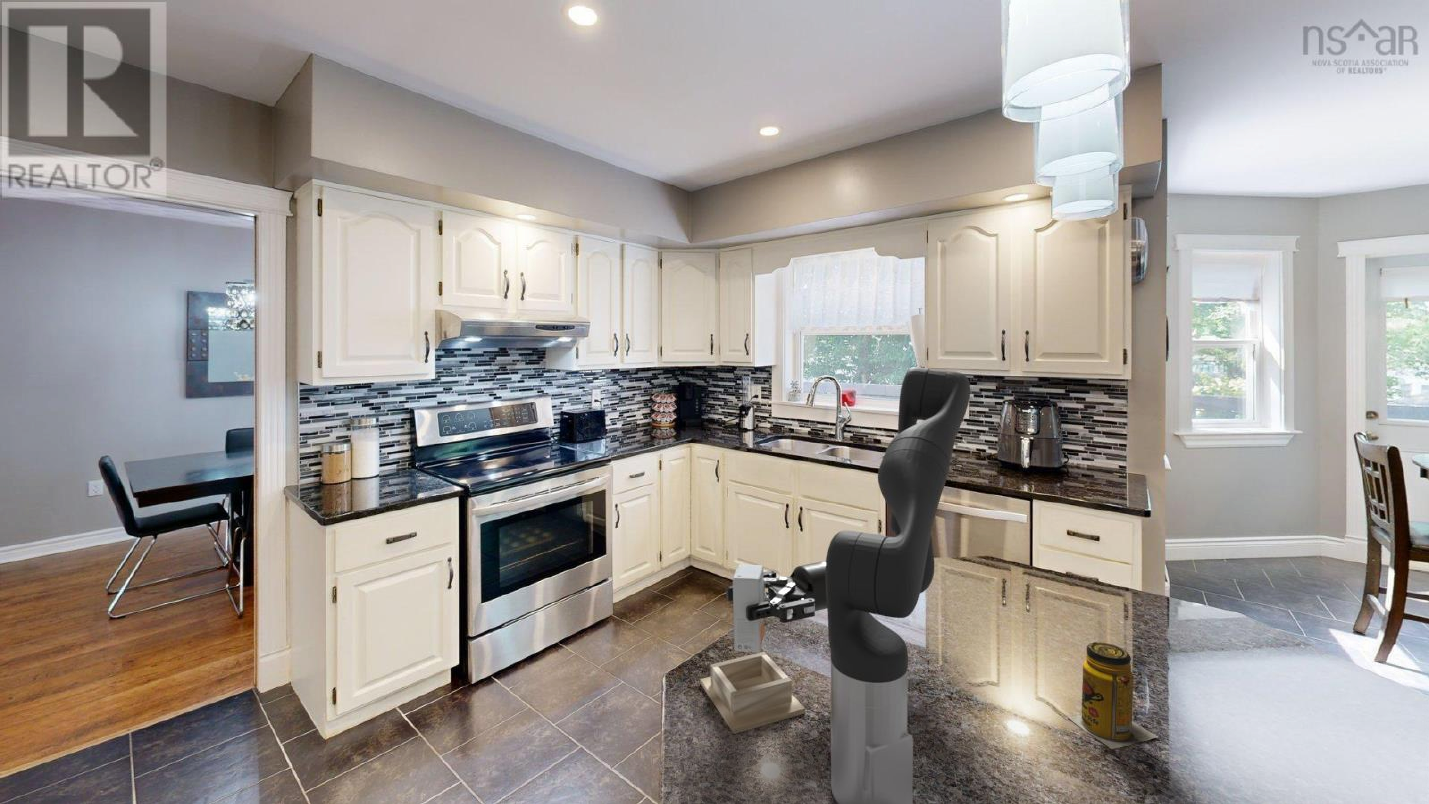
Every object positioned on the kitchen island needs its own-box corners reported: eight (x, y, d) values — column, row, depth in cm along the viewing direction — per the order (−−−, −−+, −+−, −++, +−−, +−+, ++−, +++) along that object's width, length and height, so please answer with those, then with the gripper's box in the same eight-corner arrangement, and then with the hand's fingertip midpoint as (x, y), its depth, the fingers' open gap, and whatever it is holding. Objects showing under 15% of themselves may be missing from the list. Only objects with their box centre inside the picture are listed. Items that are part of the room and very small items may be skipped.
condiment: (1066, 718, 85) (1069, 641, 84) (1111, 708, 87) (1114, 633, 86) (1111, 750, 78) (1114, 667, 77) (1159, 739, 80) (1162, 658, 79)
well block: (804, 713, 87) (804, 686, 87) (733, 734, 83) (733, 706, 82) (763, 667, 100) (763, 644, 100) (700, 683, 96) (699, 659, 95)
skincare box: (761, 654, 88) (759, 579, 87) (734, 651, 89) (731, 578, 87) (765, 634, 94) (763, 564, 92) (740, 632, 94) (738, 563, 93)
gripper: (803, 549, 102) (718, 565, 96) (850, 578, 89) (755, 598, 83) (803, 589, 103) (720, 608, 97) (850, 624, 89) (757, 647, 83)
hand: (736, 603), depth 90 cm, fingers closed on skincare box, 7 cm apart
